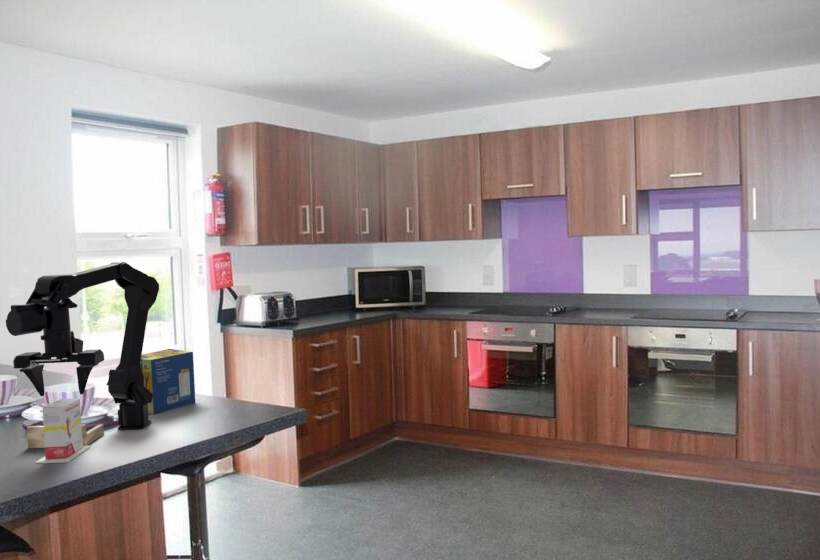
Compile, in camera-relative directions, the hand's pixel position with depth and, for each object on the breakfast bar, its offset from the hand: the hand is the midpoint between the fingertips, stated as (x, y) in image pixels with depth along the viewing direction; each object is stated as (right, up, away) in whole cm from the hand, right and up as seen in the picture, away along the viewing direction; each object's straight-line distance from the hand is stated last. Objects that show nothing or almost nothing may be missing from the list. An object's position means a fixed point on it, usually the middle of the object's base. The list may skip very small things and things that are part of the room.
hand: (62, 395), depth 165 cm
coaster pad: (+3, -13, -5) cm, 14 cm away
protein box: (+10, -10, +39) cm, 42 cm away
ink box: (+3, -13, -4) cm, 14 cm away
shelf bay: (-2, -12, +7) cm, 14 cm away
